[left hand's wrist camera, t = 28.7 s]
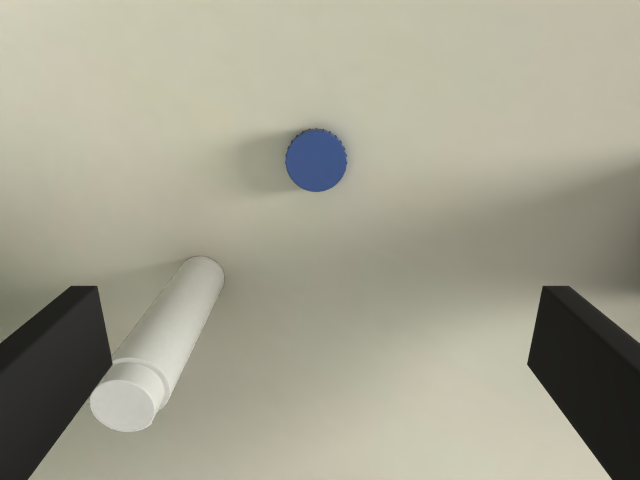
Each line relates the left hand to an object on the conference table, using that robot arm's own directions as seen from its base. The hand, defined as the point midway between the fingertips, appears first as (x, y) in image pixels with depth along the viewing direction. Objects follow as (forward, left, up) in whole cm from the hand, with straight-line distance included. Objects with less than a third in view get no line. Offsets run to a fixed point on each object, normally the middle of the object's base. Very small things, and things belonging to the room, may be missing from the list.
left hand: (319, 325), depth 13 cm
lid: (0, 0, -28) cm, 28 cm away
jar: (+16, -6, -30) cm, 34 cm away
